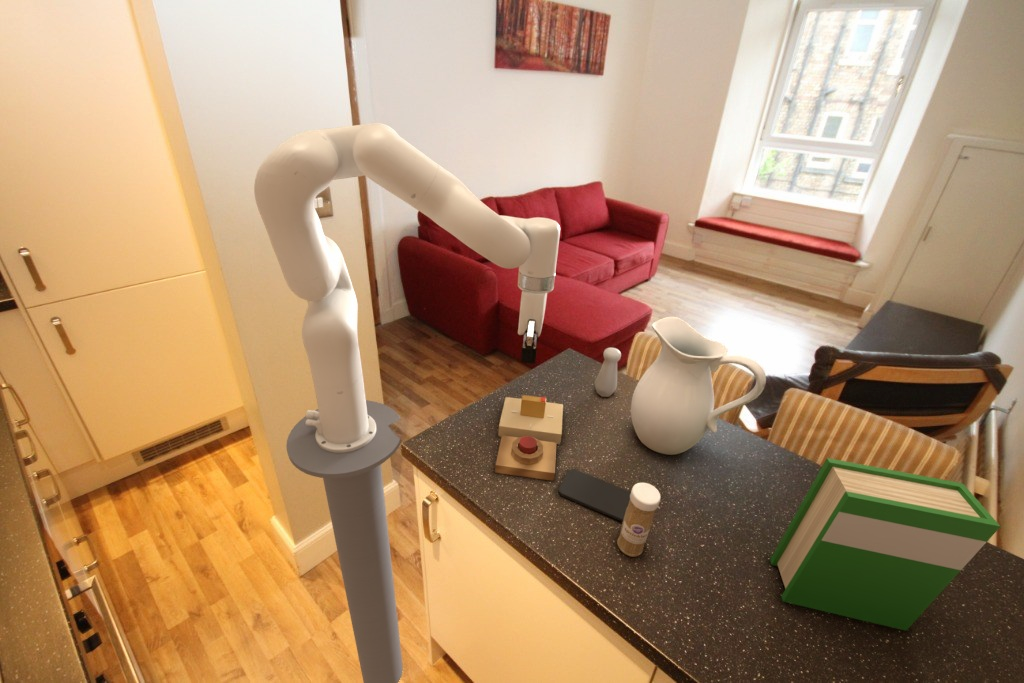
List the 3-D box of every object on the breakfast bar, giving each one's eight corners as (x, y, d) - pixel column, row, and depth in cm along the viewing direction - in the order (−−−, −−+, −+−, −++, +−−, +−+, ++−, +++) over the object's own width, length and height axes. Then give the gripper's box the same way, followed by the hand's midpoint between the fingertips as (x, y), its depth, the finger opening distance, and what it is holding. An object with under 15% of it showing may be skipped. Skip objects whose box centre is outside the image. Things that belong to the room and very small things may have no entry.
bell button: (518, 453, 91) (518, 446, 90) (519, 441, 94) (520, 434, 93) (535, 455, 91) (536, 449, 90) (536, 443, 94) (537, 437, 93)
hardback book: (783, 601, 71) (848, 496, 59) (770, 560, 77) (826, 457, 66) (906, 630, 68) (1000, 526, 56) (882, 585, 75) (962, 483, 63)
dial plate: (498, 436, 100) (498, 425, 99) (504, 406, 110) (505, 396, 108) (560, 444, 99) (561, 433, 98) (561, 414, 109) (563, 403, 107)
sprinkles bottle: (619, 557, 76) (635, 502, 69) (614, 534, 80) (629, 480, 73) (646, 558, 76) (664, 504, 69) (639, 535, 80) (656, 481, 73)
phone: (570, 467, 92) (642, 496, 87) (569, 470, 93) (641, 499, 87) (556, 491, 86) (633, 524, 81) (556, 494, 87) (632, 527, 81)
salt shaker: (592, 396, 116) (600, 353, 110) (593, 384, 121) (601, 342, 115) (614, 400, 115) (624, 358, 109) (615, 388, 120) (624, 346, 114)
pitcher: (610, 433, 104) (634, 328, 90) (650, 406, 114) (677, 308, 100) (705, 497, 89) (752, 382, 75) (742, 460, 99) (789, 353, 85)
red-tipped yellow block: (520, 415, 103) (521, 398, 100) (520, 410, 104) (522, 394, 102) (543, 418, 102) (545, 401, 100) (544, 413, 104) (546, 397, 101)
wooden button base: (494, 472, 91) (495, 458, 89) (501, 442, 99) (502, 428, 97) (553, 481, 90) (555, 466, 88) (555, 450, 98) (557, 436, 96)
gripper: (521, 264, 100) (516, 331, 108) (513, 294, 85) (508, 370, 93) (555, 267, 99) (547, 334, 108) (553, 298, 84) (544, 374, 93)
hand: (529, 351), depth 100 cm, fingers open, 9 cm apart
